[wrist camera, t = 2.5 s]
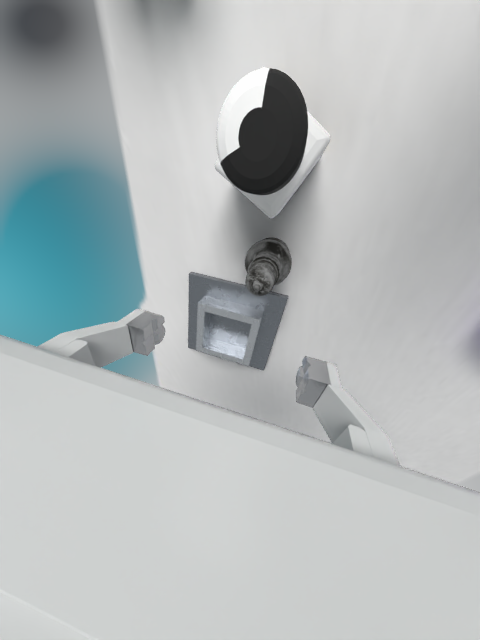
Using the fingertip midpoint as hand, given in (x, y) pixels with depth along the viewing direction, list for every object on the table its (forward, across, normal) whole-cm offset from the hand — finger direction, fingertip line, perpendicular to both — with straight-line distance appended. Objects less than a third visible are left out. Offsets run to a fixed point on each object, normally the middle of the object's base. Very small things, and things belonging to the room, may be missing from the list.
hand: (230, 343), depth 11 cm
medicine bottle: (+20, +2, -10) cm, 23 cm away
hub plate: (+20, +4, +13) cm, 24 cm away
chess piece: (+20, 0, 0) cm, 20 cm away
